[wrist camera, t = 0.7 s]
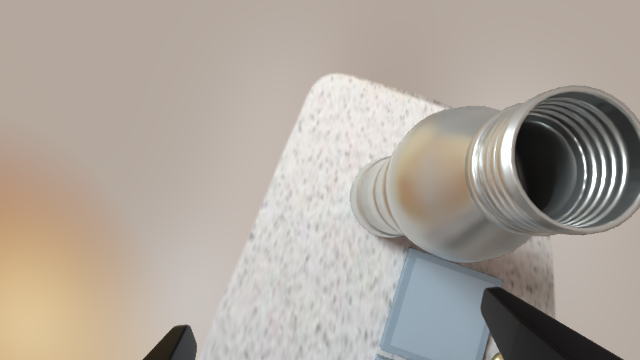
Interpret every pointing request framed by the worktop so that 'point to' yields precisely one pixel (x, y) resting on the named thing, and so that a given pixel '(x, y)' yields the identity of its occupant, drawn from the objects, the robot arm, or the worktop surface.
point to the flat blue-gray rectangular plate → (437, 311)
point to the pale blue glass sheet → (382, 358)
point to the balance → (498, 357)
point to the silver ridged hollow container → (506, 175)
